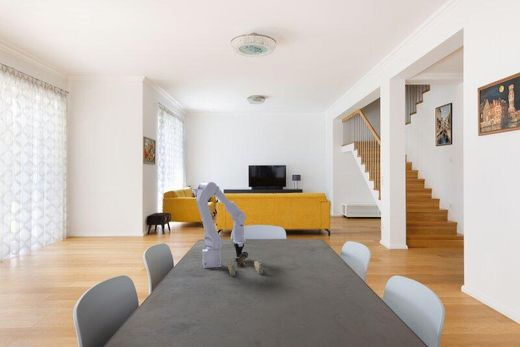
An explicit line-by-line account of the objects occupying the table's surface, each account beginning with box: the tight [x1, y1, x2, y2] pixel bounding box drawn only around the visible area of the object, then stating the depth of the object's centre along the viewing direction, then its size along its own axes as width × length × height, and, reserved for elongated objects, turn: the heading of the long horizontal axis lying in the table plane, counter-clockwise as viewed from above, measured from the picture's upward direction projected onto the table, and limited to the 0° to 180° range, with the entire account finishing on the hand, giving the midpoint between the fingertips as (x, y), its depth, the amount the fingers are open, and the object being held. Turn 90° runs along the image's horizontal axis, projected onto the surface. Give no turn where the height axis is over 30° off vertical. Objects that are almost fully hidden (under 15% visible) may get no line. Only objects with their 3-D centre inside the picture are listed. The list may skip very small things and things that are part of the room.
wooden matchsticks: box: [227, 260, 264, 278], centre depth 154 cm, size 16×14×5 cm
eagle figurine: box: [233, 251, 249, 267], centre depth 166 cm, size 8×7×9 cm
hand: (238, 256), depth 175 cm, fingers closed
